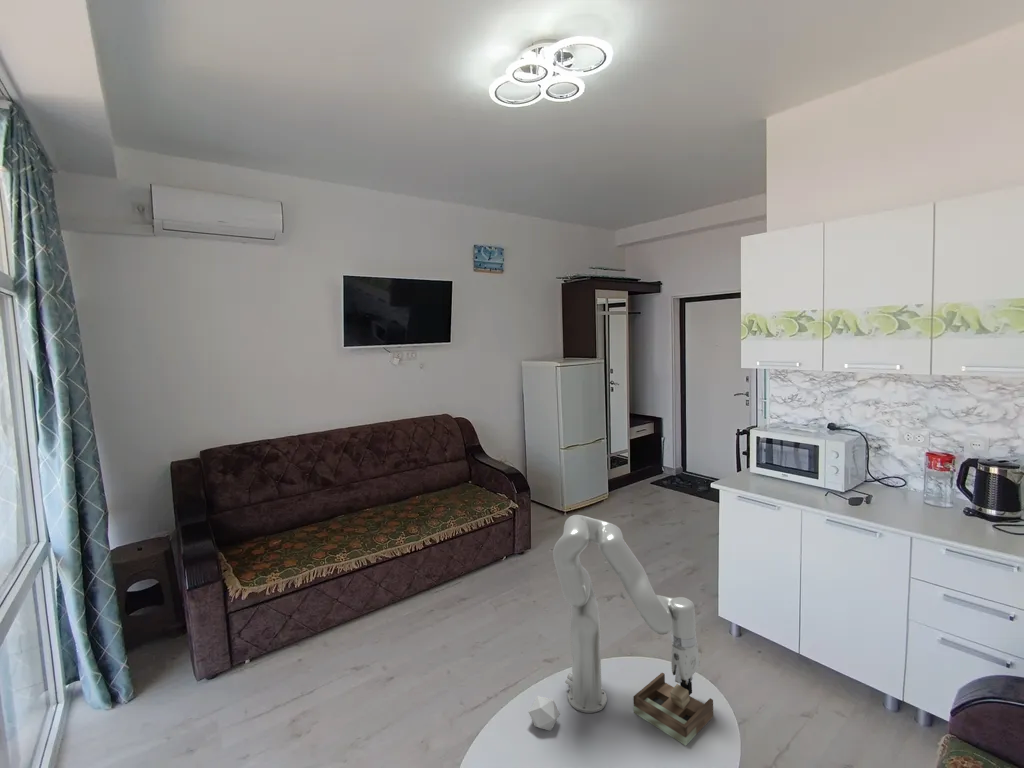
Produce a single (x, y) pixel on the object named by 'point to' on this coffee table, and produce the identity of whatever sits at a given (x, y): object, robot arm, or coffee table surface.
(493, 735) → the coffee table surface
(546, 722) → the die
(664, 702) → the box
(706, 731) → the coffee table surface
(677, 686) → the maple block
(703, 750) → the coffee table surface
